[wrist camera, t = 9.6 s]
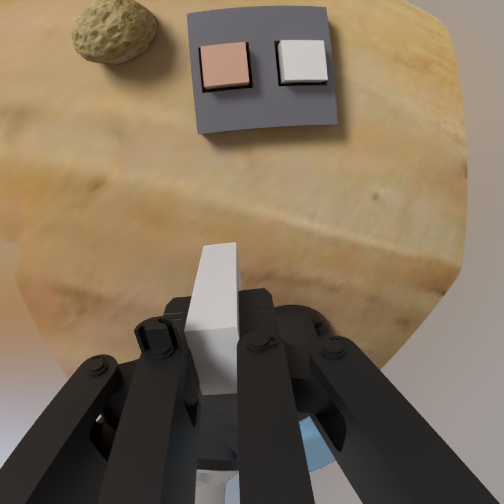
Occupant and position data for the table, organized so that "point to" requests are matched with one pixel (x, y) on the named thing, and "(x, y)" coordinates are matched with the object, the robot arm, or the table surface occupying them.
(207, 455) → the robot arm
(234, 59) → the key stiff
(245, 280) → the table surface
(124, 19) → the rock
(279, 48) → the key soft
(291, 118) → the key panel
